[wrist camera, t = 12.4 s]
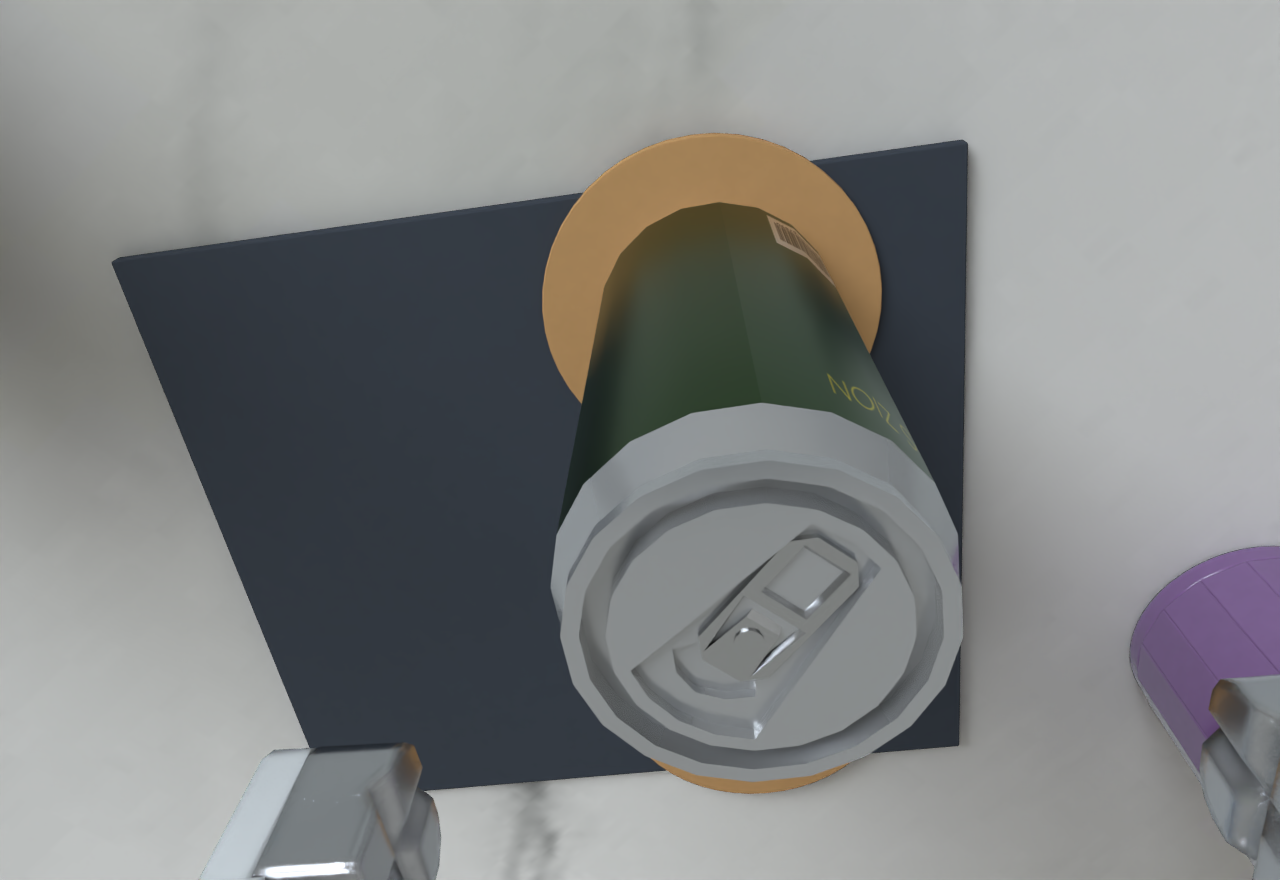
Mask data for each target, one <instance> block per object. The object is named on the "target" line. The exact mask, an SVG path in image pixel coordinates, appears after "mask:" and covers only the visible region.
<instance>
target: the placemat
mask: <svg viewBox="0 0 1280 880" xmlns="http://www.w3.org/2000/svg"><path fill="white" fill-rule="evenodd" d="M967 166H968V143H967V142H965V141H964V140H957V141H950V142H942V143H935V144H928V145H921V146H914V147H907V148H900V149H892V150H885V151H878V152H871V153H864V154H857V155H849V156H842V157H835V158H828V159H821V160H814V161H809V160H807V159H806V158H805V157H803V156H801V155H799V154H797V153H795V152H793V151H791V150H789V149H787V148H785V147H783V146H780V145H777V144H774V143H771V142H769V141H766V140H763V139H759V138H754V137H749V136H744V135H739V134H723V133H708V134H695V135H687V136H683V137H678V138H673V139H669V140H665V141H663V142H660V143H657V144H654V145H651V146H649V147H646V148H644V149H642V150H640V151H638V152H636V153H634V154H632V155H630V156H628V157H626V158H624V159H623V160H621V161H620V162H619V163H617V164H616V165H614V166H613V167H611V168H610V169H609V170H607V171H606V172H604V173H603V174H602V175H601V176H600V177H599V178H598V179H597V180H596V181H595V182H594V183H593V184H591V185H590V186H589V187H588V188H587V189H586V191H585V192H584V193H578V194H571V195H563V196H556V197H549V198H542V199H535V200H528V201H520V202H513V203H506V204H499V205H492V206H485V207H478V208H470V209H463V210H456V211H449V212H442V213H435V214H427V215H420V216H413V217H406V218H399V219H392V220H385V221H377V222H370V223H363V224H356V225H349V226H342V227H334V228H327V229H320V230H313V231H306V232H299V233H292V234H284V235H277V236H270V237H263V238H256V239H249V240H241V241H234V242H227V243H220V244H213V245H206V246H199V247H191V248H184V249H177V250H170V251H163V252H156V253H148V254H141V255H134V256H127V257H120V258H118V259H116V260H114V261H113V262H112V265H113V268H114V270H115V273H116V275H117V277H118V280H119V282H120V285H121V287H122V290H123V292H124V295H125V297H126V299H127V302H128V304H129V307H130V309H131V312H132V314H133V317H134V319H135V321H136V324H137V326H138V329H139V331H140V334H141V336H142V339H143V341H144V344H145V346H146V348H147V351H148V353H149V356H150V358H151V361H152V363H153V366H154V368H155V370H156V373H157V375H158V378H159V380H160V383H161V385H162V388H163V390H164V392H165V395H166V397H167V400H168V402H169V405H170V407H171V410H172V412H173V414H174V417H175V419H176V422H177V424H178V427H179V429H180V432H181V434H182V437H183V439H184V441H185V444H186V446H187V449H188V451H189V454H190V456H191V459H192V461H193V463H194V466H195V468H196V471H197V473H198V476H199V478H200V481H201V483H202V485H203V488H204V490H205V493H206V495H207V498H208V500H209V503H210V505H211V508H212V510H213V512H214V515H215V517H216V520H217V522H218V525H219V527H220V530H221V532H222V534H223V537H224V539H225V542H226V544H227V547H228V549H229V552H230V554H231V556H232V559H233V561H234V564H235V566H236V569H237V571H238V574H239V576H240V578H241V581H242V583H243V586H244V588H245V591H246V593H247V596H248V598H249V601H250V603H251V605H252V608H253V610H254V613H255V615H256V618H257V620H258V623H259V625H260V627H261V630H262V632H263V635H264V637H265V640H266V642H267V645H268V647H269V649H270V652H271V654H272V657H273V659H274V662H275V664H276V667H277V669H278V671H279V674H280V676H281V679H282V681H283V684H284V686H285V689H286V691H287V694H288V696H289V698H290V701H291V703H292V706H293V708H294V711H295V713H296V716H297V718H298V720H299V723H300V725H301V728H302V730H303V733H304V735H305V738H306V740H307V742H308V745H309V747H310V748H317V747H324V746H343V745H363V744H382V743H402V742H406V743H409V744H412V745H414V747H415V749H416V752H417V755H418V757H419V760H420V762H421V765H422V767H423V768H422V772H421V775H420V778H419V781H418V784H417V786H418V787H419V788H420V789H422V790H423V791H427V790H439V789H451V788H463V787H475V786H487V785H499V784H511V783H523V782H535V781H546V780H558V779H570V778H582V777H594V776H606V775H618V774H630V773H642V772H654V771H665V770H667V771H669V772H670V773H672V774H674V775H676V776H678V777H680V778H682V779H684V780H686V781H688V782H691V783H694V784H697V785H699V786H702V787H706V788H710V789H714V790H719V791H725V792H732V793H747V794H754V793H771V792H778V791H785V790H789V789H794V788H798V787H801V786H804V785H807V784H810V783H813V782H816V781H818V780H821V779H823V778H825V777H827V776H829V775H831V774H833V773H835V772H836V771H838V770H840V769H842V768H843V767H845V766H846V765H847V764H849V763H850V762H849V763H846V764H843V765H840V766H838V767H835V768H832V769H829V770H826V771H823V772H820V773H818V774H815V775H812V776H806V777H796V778H787V779H778V780H768V781H759V782H748V781H740V780H732V779H723V778H715V777H707V776H699V775H695V774H692V773H689V772H687V771H684V770H681V769H679V768H676V767H673V766H671V765H668V764H665V763H663V762H660V761H657V760H655V759H652V758H649V757H647V756H645V755H643V754H642V753H640V752H639V751H638V750H636V749H635V748H634V747H632V746H631V745H629V744H628V743H627V742H625V741H624V740H623V739H621V738H620V737H618V736H617V735H616V734H614V733H613V732H612V731H610V730H609V729H608V728H606V727H605V726H603V725H602V724H601V722H600V721H599V719H598V718H597V717H596V715H595V714H594V712H593V711H592V710H591V708H590V707H589V706H588V704H587V703H586V701H585V700H584V699H583V697H582V696H581V695H580V693H579V692H578V690H577V689H576V688H575V686H574V685H573V683H572V679H571V675H570V672H569V668H568V664H567V661H566V657H565V653H564V650H563V646H562V642H561V639H560V632H561V625H560V621H559V618H558V614H557V610H556V607H555V603H554V599H553V596H552V592H551V588H550V587H551V578H552V570H553V561H554V552H555V544H556V535H557V530H558V525H559V519H560V514H561V509H562V504H563V499H564V493H565V488H566V483H567V478H568V473H569V467H570V462H571V457H572V452H573V447H574V441H575V436H576V431H577V426H578V421H579V415H580V410H581V405H582V400H583V395H584V389H585V384H586V379H587V374H588V369H589V363H590V358H591V353H592V348H593V343H594V337H595V332H596V327H597V322H598V317H599V311H600V306H601V301H602V296H603V291H604V286H605V284H606V282H607V280H608V278H609V276H610V274H611V272H612V270H613V268H614V265H615V263H616V261H617V259H618V257H619V255H620V253H621V252H622V251H623V250H624V249H625V248H626V247H627V246H628V245H629V244H630V243H631V242H632V241H633V240H634V239H635V238H636V237H637V236H638V235H639V234H640V233H641V232H642V231H643V230H644V229H645V228H646V227H647V226H649V225H651V224H653V223H655V222H657V221H658V220H660V219H662V218H664V217H666V216H668V215H670V214H672V213H674V212H676V211H678V210H679V209H682V208H688V207H694V206H700V205H706V204H711V203H717V202H722V203H729V204H736V205H743V206H750V207H757V208H760V209H762V210H764V211H766V212H768V213H769V214H771V215H773V216H775V217H777V218H779V219H781V220H783V221H785V222H787V223H789V224H791V225H793V226H794V228H795V229H796V230H797V231H798V232H799V233H800V234H801V235H802V236H803V237H804V238H805V239H806V240H807V241H808V242H809V243H810V244H811V245H812V246H813V247H814V248H815V249H816V250H817V251H818V253H819V255H820V257H821V259H822V261H823V263H824V265H825V267H826V269H827V271H828V273H829V275H830V277H831V279H832V281H833V283H834V285H835V287H836V289H837V291H838V293H839V295H840V297H841V299H842V300H843V302H844V304H845V306H846V308H847V310H848V312H849V314H850V316H851V318H852V320H853V322H854V324H855V326H856V328H857V330H858V332H859V334H860V336H861V338H862V340H863V342H864V344H865V346H866V348H867V350H868V352H869V354H870V356H871V358H872V360H873V362H874V364H875V366H876V368H877V370H878V372H879V373H880V375H881V377H882V379H883V381H884V383H885V385H886V387H887V389H888V391H889V393H890V395H891V397H892V399H893V401H894V403H895V405H896V407H897V409H898V411H899V413H900V415H901V417H902V419H903V421H904V423H905V425H906V427H907V429H908V431H909V433H910V435H911V437H912V439H913V441H914V443H915V445H916V446H917V448H918V450H919V452H920V454H921V456H922V458H923V460H924V462H925V464H926V466H927V468H928V470H929V472H930V474H931V476H932V478H933V480H934V482H935V484H936V486H937V489H938V491H939V493H940V495H941V497H942V500H943V502H944V504H945V506H946V509H947V511H948V513H949V515H950V517H951V520H952V522H953V524H954V526H955V528H956V531H957V533H958V550H959V581H960V583H961V580H962V511H963V442H964V373H965V304H966V235H967ZM960 649H961V645H960V647H959V650H958V653H957V655H956V658H955V661H954V663H953V666H952V669H951V671H950V674H949V677H948V679H947V682H946V685H945V686H944V687H943V689H942V690H941V691H940V692H939V693H938V695H937V696H936V697H935V698H934V699H933V701H932V702H931V703H930V704H929V705H928V706H927V708H926V709H925V710H924V711H923V712H922V714H921V715H920V716H919V717H918V718H917V720H916V721H915V722H914V723H913V724H912V726H911V727H909V728H908V729H906V730H905V731H903V732H902V733H900V734H899V735H897V736H895V737H894V738H892V739H891V740H889V741H888V742H886V743H885V744H883V745H882V746H880V747H879V748H877V749H876V750H874V751H873V752H871V753H880V752H892V751H903V750H915V749H927V748H939V747H951V746H959V718H960Z"/></svg>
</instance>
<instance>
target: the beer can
mask: <svg viewBox="0 0 1280 880" xmlns="http://www.w3.org/2000/svg"><path fill="white" fill-rule="evenodd" d="M550 588H551V592H552V596H553V599H554V603H555V607H556V610H557V614H558V618H559V621H560V625H561V632H560V639H561V642H562V646H563V650H564V653H565V657H566V661H567V664H568V668H569V672H570V675H571V679H572V683H573V685H574V686H575V688H576V689H577V690H578V692H579V693H580V695H581V696H582V697H583V699H584V700H585V701H586V703H587V704H588V706H589V707H590V708H591V710H592V711H593V712H594V714H595V715H596V717H597V718H598V719H599V721H600V722H601V724H602V725H603V726H605V727H606V728H608V729H609V730H610V731H612V732H613V733H614V734H616V735H617V736H618V737H620V738H621V739H623V740H624V741H625V742H627V743H628V744H629V745H631V746H632V747H634V748H635V749H636V750H638V751H639V752H640V753H642V754H643V755H645V756H647V757H649V758H652V759H655V760H657V761H660V762H663V763H665V764H668V765H671V766H673V767H676V768H679V769H681V770H684V771H687V772H689V773H692V774H695V775H699V776H707V777H715V778H723V779H732V780H740V781H748V782H759V781H768V780H778V779H787V778H796V777H806V776H812V775H815V774H818V773H820V772H823V771H826V770H829V769H832V768H835V767H838V766H840V765H843V764H846V763H849V762H852V761H855V760H858V759H860V758H863V757H865V756H867V755H868V754H870V753H871V752H873V751H874V750H876V749H877V748H879V747H880V746H882V745H883V744H885V743H886V742H888V741H889V740H891V739H892V738H894V737H895V736H897V735H899V734H900V733H902V732H903V731H905V730H906V729H908V728H909V727H911V726H912V724H913V723H914V722H915V721H916V720H917V718H918V717H919V716H920V715H921V714H922V712H923V711H924V710H925V709H926V708H927V706H928V705H929V704H930V703H931V702H932V701H933V699H934V698H935V697H936V696H937V695H938V693H939V692H940V691H941V690H942V689H943V687H944V686H945V685H946V682H947V679H948V677H949V674H950V671H951V669H952V666H953V663H954V661H955V658H956V655H957V653H958V650H959V647H960V645H961V642H962V639H963V608H962V585H961V583H960V581H959V550H958V533H957V531H956V528H955V526H954V524H953V522H952V520H951V517H950V515H949V513H948V511H947V509H946V506H945V504H944V502H943V500H942V497H941V495H940V493H939V491H938V489H937V486H936V484H935V482H934V480H933V478H932V476H931V474H930V472H929V470H928V468H927V466H926V464H925V462H924V460H923V458H922V456H921V454H920V452H919V450H918V448H917V446H916V445H915V443H914V441H913V439H912V437H911V435H910V433H909V431H908V429H907V427H906V425H905V423H904V421H903V419H902V417H901V415H900V413H899V411H898V409H897V407H896V405H895V403H894V401H893V399H892V397H891V395H890V393H889V391H888V389H887V387H886V385H885V383H884V381H883V379H882V377H881V375H880V373H879V372H878V370H877V368H876V366H875V364H874V362H873V360H872V358H871V356H870V354H869V352H868V350H867V348H866V346H865V344H864V342H863V340H862V338H861V336H860V334H859V332H858V330H857V328H856V326H855V324H854V322H853V320H852V318H851V316H850V314H849V312H848V310H847V308H846V306H845V304H844V302H843V300H842V299H841V297H840V295H839V293H838V291H837V289H836V287H835V285H834V283H833V281H832V279H831V277H830V275H829V273H828V271H827V269H826V267H825V265H824V263H823V261H822V259H821V257H820V255H819V253H818V251H817V250H816V249H815V248H814V247H813V246H812V245H811V244H810V243H809V242H808V241H807V240H806V239H805V238H804V237H803V236H802V235H801V234H800V233H799V232H798V231H797V230H796V229H795V228H794V226H793V225H791V224H789V223H787V222H785V221H783V220H781V219H779V218H777V217H775V216H773V215H771V214H769V213H768V212H766V211H764V210H762V209H760V208H757V207H750V206H743V205H736V204H729V203H722V202H717V203H711V204H706V205H700V206H694V207H688V208H682V209H679V210H678V211H676V212H674V213H672V214H670V215H668V216H666V217H664V218H662V219H660V220H658V221H657V222H655V223H653V224H651V225H649V226H647V227H646V228H645V229H644V230H643V231H642V232H641V233H640V234H639V235H638V236H637V237H636V238H635V239H634V240H633V241H632V242H631V243H630V244H629V245H628V246H627V247H626V248H625V249H624V250H623V251H622V252H621V253H620V255H619V257H618V259H617V261H616V263H615V265H614V268H613V270H612V272H611V274H610V276H609V278H608V280H607V282H606V284H605V286H604V291H603V296H602V301H601V306H600V311H599V317H598V322H597V327H596V332H595V337H594V343H593V348H592V353H591V358H590V363H589V369H588V374H587V379H586V384H585V389H584V395H583V400H582V405H581V410H580V415H579V421H578V426H577V431H576V436H575V441H574V447H573V452H572V457H571V462H570V467H569V473H568V478H567V483H566V488H565V493H564V499H563V504H562V509H561V514H560V519H559V525H558V530H557V535H556V544H555V552H554V561H553V570H552V578H551V587H550Z"/></svg>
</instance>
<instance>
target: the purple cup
mask: <svg viewBox="0 0 1280 880" xmlns="http://www.w3.org/2000/svg"><path fill="white" fill-rule="evenodd" d="M1130 662H1131V668H1132V671H1133V674H1134V677H1135V679H1136V681H1137V683H1138V684H1139V686H1140V688H1141V689H1142V691H1143V692H1144V694H1145V696H1146V698H1147V700H1148V702H1149V704H1150V706H1151V708H1152V709H1153V711H1154V712H1155V714H1156V715H1157V717H1158V718H1159V720H1160V722H1161V723H1162V725H1163V726H1164V728H1165V729H1166V731H1167V732H1168V734H1169V736H1170V737H1171V739H1172V740H1173V742H1174V743H1175V745H1176V746H1177V748H1178V750H1179V751H1180V753H1181V754H1182V756H1183V757H1184V759H1185V760H1186V762H1187V764H1188V765H1189V767H1190V768H1191V770H1192V771H1193V773H1194V774H1195V776H1196V777H1197V779H1198V781H1199V782H1200V784H1201V785H1202V783H1201V777H1200V771H1199V767H1200V758H1201V750H1202V743H1203V742H1205V741H1206V740H1207V739H1208V738H1209V737H1210V736H1211V735H1212V734H1213V733H1214V732H1215V731H1216V730H1217V729H1218V728H1219V727H1220V726H1219V725H1218V723H1217V722H1216V720H1215V719H1214V717H1213V716H1212V714H1211V713H1210V711H1209V710H1208V709H1209V704H1210V698H1211V693H1212V689H1213V688H1214V687H1215V685H1216V684H1217V683H1218V681H1219V680H1220V679H1225V678H1237V677H1249V676H1260V675H1272V674H1280V546H1262V547H1253V548H1246V549H1240V550H1236V551H1232V552H1228V553H1225V554H1222V555H1219V556H1217V557H1214V558H1211V559H1209V560H1207V561H1205V562H1202V563H1200V564H1198V565H1196V566H1194V567H1193V568H1191V569H1189V570H1188V571H1186V572H1184V573H1183V574H1181V575H1180V576H1178V577H1177V578H1176V579H1174V580H1173V581H1171V582H1170V583H1169V584H1168V585H1167V586H1166V587H1165V588H1163V589H1162V590H1161V591H1160V592H1159V593H1158V594H1157V595H1156V596H1155V597H1154V599H1153V600H1152V601H1151V602H1150V603H1149V605H1148V606H1147V607H1146V609H1145V610H1144V612H1143V613H1142V615H1141V617H1140V619H1139V620H1138V622H1137V624H1136V627H1135V630H1134V632H1133V635H1132V640H1131V645H1130ZM1247 857H1248V856H1247ZM1248 858H1249V860H1250V861H1251V863H1252V865H1253V866H1254V868H1255V864H1256V861H1255V860H1253V859H1252V858H1250V857H1248Z"/></svg>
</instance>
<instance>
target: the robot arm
mask: <svg viewBox="0 0 1280 880" xmlns="http://www.w3.org/2000/svg"><path fill="white" fill-rule="evenodd" d="M1208 710H1209V711H1210V713H1211V714H1212V716H1213V717H1214V719H1215V720H1216V722H1217V723H1218V725H1219V726H1220V727H1219V728H1218V729H1217V730H1216V731H1215V732H1214V733H1213V734H1212V735H1211V736H1210V737H1209V738H1208V739H1207V740H1206V741H1205V742H1203V743H1202V750H1201V758H1200V767H1199V771H1200V777H1201V783H1202V788H1203V794H1204V798H1205V801H1206V803H1207V806H1208V808H1209V811H1210V813H1211V816H1212V818H1213V820H1214V822H1215V824H1216V825H1217V827H1218V829H1219V831H1220V832H1221V834H1222V836H1223V837H1224V839H1225V841H1226V842H1227V843H1228V844H1230V845H1232V846H1233V847H1235V848H1236V849H1238V850H1239V851H1241V852H1242V853H1244V854H1245V855H1247V856H1248V857H1250V858H1252V859H1253V860H1255V861H1256V864H1255V868H1254V873H1253V878H1252V880H1280V674H1272V675H1260V676H1249V677H1237V678H1225V679H1220V680H1219V681H1218V683H1217V684H1216V685H1215V687H1214V688H1213V689H1212V693H1211V698H1210V704H1209V709H1208ZM422 768H423V767H422V765H421V762H420V760H419V757H418V755H417V752H416V749H415V747H414V745H412V744H409V743H406V742H402V743H382V744H363V745H343V746H324V747H317V748H306V749H284V750H273V751H272V752H271V753H270V754H268V755H267V756H266V757H265V758H263V759H262V761H261V762H260V764H259V766H258V768H257V770H256V771H255V773H254V775H253V777H252V779H251V781H250V783H249V785H248V787H247V788H246V790H245V792H244V794H243V796H242V798H241V800H240V802H239V804H238V806H237V807H236V809H235V811H234V813H233V815H232V817H231V819H230V821H229V823H228V825H227V826H226V828H225V830H224V832H223V834H222V836H221V838H220V840H219V842H218V844H217V845H216V847H215V849H214V851H213V853H212V855H211V857H210V859H209V861H208V863H207V864H206V866H205V868H204V870H203V872H202V874H201V876H200V878H199V880H436V876H437V872H438V868H439V862H440V845H441V832H440V824H439V817H438V812H437V809H436V806H435V803H434V800H433V798H432V797H431V796H430V795H428V794H427V793H426V792H424V791H423V790H422V789H420V788H419V787H418V786H417V784H418V781H419V778H420V775H421V772H422Z"/></svg>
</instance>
